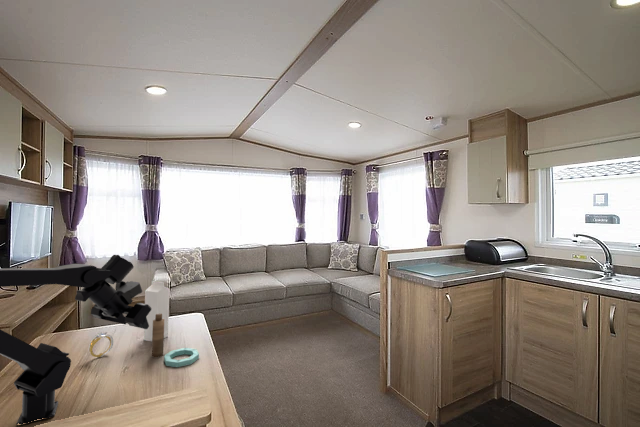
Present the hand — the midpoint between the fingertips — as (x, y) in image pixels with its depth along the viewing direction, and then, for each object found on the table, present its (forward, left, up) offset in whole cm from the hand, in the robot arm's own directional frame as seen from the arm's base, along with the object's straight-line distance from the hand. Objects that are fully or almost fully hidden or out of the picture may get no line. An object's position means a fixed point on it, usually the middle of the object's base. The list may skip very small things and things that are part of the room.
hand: (136, 325), depth 97 cm
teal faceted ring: (-2, -13, -13) cm, 18 cm away
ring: (+13, +9, -13) cm, 21 cm away
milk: (+21, -8, -13) cm, 26 cm away
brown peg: (+5, -7, -13) cm, 15 cm away
